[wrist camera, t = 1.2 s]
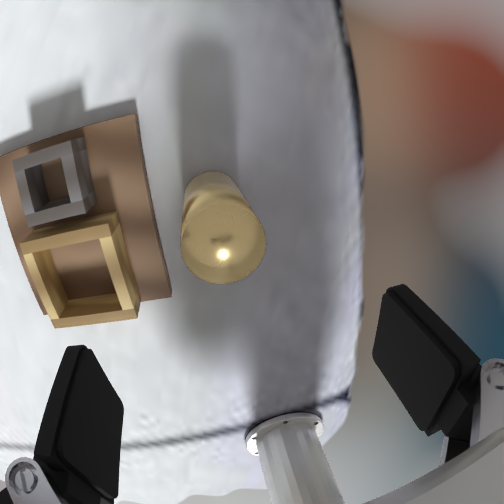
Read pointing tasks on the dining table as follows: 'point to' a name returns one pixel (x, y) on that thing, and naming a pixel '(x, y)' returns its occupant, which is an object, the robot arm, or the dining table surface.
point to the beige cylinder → (219, 230)
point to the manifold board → (85, 223)
